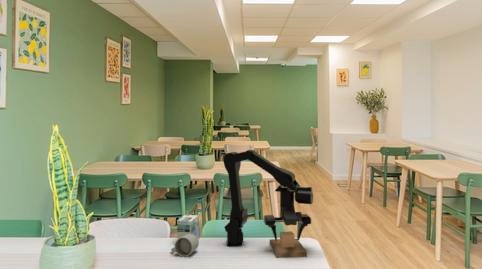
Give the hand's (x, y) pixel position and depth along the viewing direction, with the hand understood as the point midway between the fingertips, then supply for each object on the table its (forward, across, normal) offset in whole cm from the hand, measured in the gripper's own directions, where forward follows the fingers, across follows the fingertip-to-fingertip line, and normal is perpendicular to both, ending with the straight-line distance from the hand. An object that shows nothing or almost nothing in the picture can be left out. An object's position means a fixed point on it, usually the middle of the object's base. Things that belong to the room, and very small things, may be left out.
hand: (287, 240), depth 150 cm
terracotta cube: (+2, 0, 0) cm, 2 cm away
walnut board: (+4, 0, 0) cm, 4 cm away
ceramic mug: (+4, -42, +1) cm, 42 cm away
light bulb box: (+4, -41, +15) cm, 44 cm away
